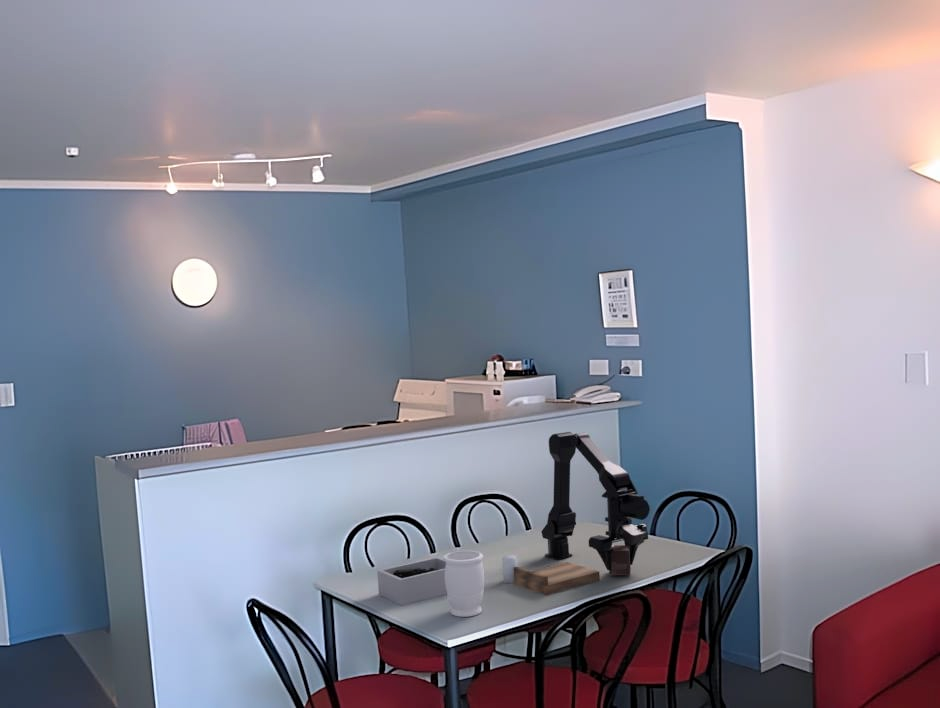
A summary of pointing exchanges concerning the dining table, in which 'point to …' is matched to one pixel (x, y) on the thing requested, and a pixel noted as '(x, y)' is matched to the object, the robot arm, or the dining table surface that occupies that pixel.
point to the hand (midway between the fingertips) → (619, 567)
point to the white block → (509, 568)
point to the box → (620, 560)
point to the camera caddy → (413, 582)
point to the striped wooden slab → (554, 577)
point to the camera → (412, 572)
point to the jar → (464, 582)
